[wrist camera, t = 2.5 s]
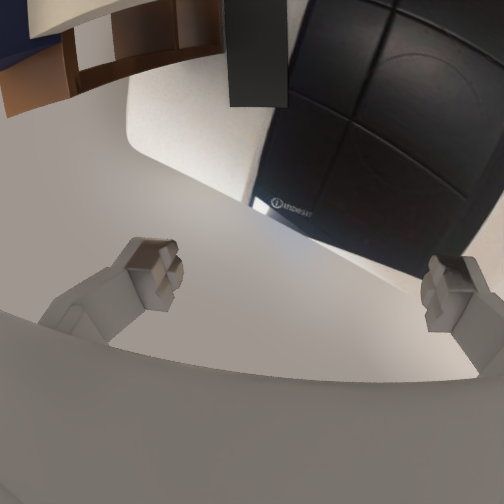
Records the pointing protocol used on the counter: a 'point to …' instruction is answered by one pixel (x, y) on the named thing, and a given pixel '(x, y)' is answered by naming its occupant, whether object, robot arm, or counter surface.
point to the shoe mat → (257, 52)
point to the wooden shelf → (117, 52)
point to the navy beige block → (46, 23)
